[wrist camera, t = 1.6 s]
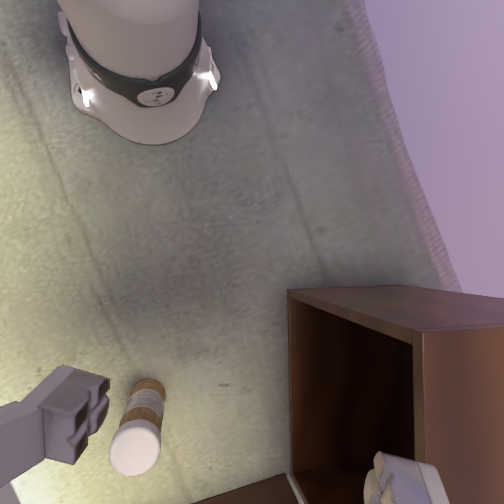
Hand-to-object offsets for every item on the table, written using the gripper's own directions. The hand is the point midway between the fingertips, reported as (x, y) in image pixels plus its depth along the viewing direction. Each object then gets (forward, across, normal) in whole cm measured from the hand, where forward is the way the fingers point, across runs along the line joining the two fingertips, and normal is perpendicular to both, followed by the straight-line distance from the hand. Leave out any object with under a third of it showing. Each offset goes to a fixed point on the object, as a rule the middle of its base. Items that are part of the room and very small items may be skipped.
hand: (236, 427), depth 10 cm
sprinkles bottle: (+26, +13, +27) cm, 40 cm away
